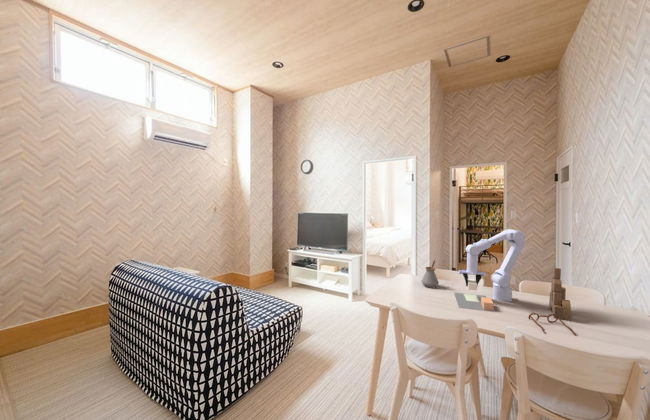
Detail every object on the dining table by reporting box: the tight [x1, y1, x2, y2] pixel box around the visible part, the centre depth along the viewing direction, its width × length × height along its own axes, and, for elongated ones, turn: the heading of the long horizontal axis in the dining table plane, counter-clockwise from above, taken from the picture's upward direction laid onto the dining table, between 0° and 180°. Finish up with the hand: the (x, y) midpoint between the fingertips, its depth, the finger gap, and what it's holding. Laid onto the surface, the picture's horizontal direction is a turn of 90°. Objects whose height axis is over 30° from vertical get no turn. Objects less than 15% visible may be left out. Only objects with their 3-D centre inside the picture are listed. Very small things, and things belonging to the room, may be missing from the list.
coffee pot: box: [421, 259, 440, 288], centre depth 190 cm, size 21×12×15 cm, turn 146°
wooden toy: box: [548, 267, 572, 321], centre depth 141 cm, size 16×7×25 cm, turn 148°
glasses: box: [528, 312, 577, 337], centre depth 128 cm, size 13×13×5 cm
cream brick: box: [466, 278, 478, 291], centre depth 161 cm, size 4×8×4 cm, turn 160°
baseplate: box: [453, 292, 496, 313], centre depth 157 cm, size 18×24×1 cm
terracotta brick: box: [481, 296, 495, 310], centre depth 149 cm, size 4×8×4 cm, turn 160°
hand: (471, 286), depth 161 cm, fingers closed on cream brick, 4 cm apart
